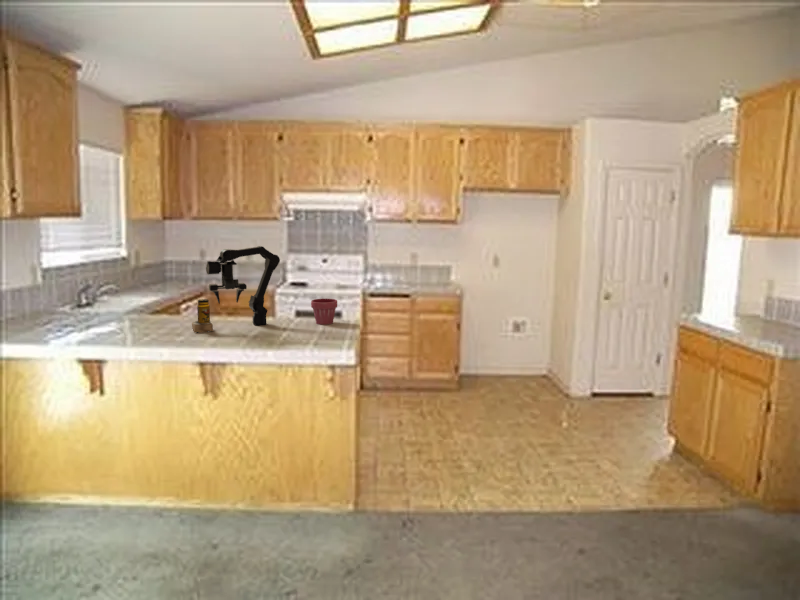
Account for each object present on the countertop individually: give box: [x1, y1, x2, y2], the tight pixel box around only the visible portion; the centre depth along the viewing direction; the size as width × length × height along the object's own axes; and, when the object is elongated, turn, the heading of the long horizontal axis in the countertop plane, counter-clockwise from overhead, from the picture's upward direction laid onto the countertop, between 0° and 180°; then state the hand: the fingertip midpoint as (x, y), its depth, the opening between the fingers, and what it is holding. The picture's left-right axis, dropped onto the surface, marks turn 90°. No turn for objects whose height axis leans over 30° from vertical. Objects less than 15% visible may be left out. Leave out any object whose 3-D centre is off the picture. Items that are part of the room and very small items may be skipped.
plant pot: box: [310, 298, 338, 326], centre depth 357 cm, size 14×14×13 cm
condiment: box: [192, 298, 212, 324], centre depth 333 cm, size 7×8×12 cm
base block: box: [191, 321, 214, 333], centre depth 334 cm, size 9×9×4 cm
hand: (228, 303), depth 342 cm, fingers open, 9 cm apart
